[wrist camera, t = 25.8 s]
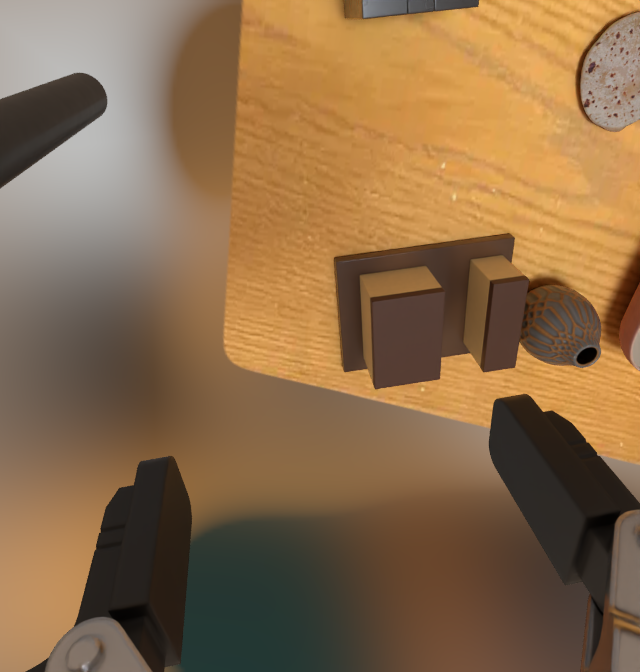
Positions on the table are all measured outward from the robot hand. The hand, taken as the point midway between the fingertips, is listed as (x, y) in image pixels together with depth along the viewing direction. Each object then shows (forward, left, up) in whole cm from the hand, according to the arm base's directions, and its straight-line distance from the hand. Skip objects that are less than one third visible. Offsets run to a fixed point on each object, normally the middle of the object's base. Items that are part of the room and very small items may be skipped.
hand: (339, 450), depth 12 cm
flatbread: (+28, +3, -31) cm, 42 cm away
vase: (+24, -17, -31) cm, 43 cm away
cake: (+9, -15, -30) cm, 35 cm away
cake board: (+12, -15, -31) cm, 37 cm away
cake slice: (+18, -15, -30) cm, 38 cm away
